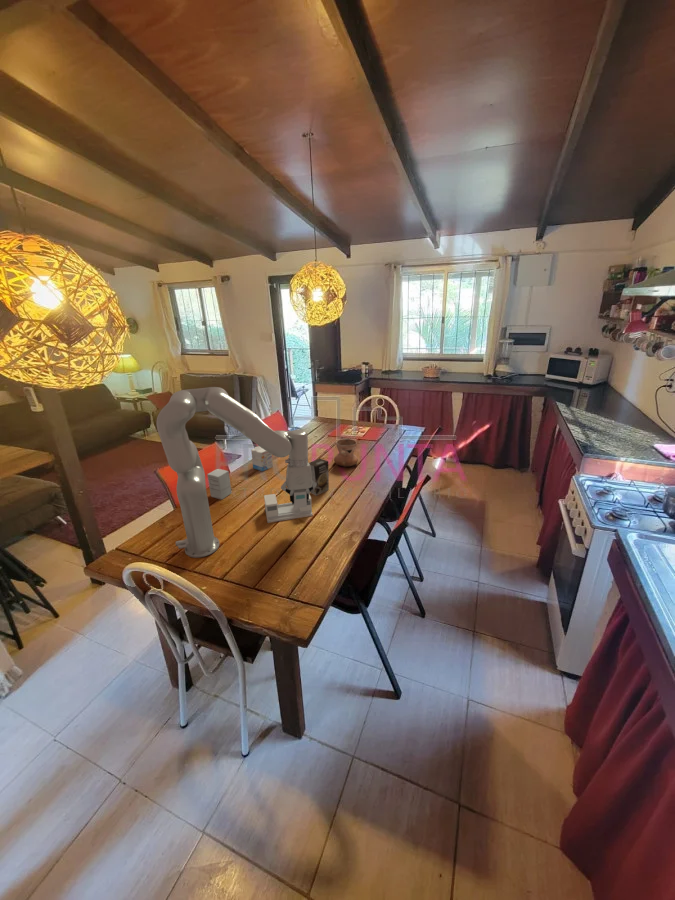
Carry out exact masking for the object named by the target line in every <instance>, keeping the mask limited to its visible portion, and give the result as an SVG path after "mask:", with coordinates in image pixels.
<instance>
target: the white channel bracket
mask: <svg viewBox="0 0 675 900" xmlns="http://www.w3.org/2000/svg"><path fill="white" fill-rule="evenodd" d="M310 494H311V493H309V499H308V502H307V507H302V508H294V505H293V504H292V502H285V503H280V504H278V501H277V496H276V493H270V494H265V495H263V498H264V499H263V501H264V511H265V515H266V521H267V523H268V524H269V523H275V522H281V521H289V520H294V519H295V520H296V519H299V518H305V517H312V516H313V511H312V510H313V508H312V506H313V505H312V496H311V495H310Z"/></svg>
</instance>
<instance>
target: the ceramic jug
mask: <svg viewBox="0 0 675 900" xmlns="http://www.w3.org/2000/svg"><path fill="white" fill-rule="evenodd" d="M335 444H336V449H337V451H338V453H337V454H336V455H334V457H333V461H334V463H335V464H336V465H338V466H340V467H353V466H355V465H357V463H358V462H359V458H358V456H357V455H356V454H354V452H355V450H356V448H357V444H358V442H357V441H356V440H355V439H351V438H341V439H338V440H336V441H335Z"/></svg>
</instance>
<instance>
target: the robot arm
mask: <svg viewBox="0 0 675 900" xmlns="http://www.w3.org/2000/svg"><path fill="white" fill-rule="evenodd" d="M198 412H199V413H200V412H209V413H210V415H212V416H214V417H216V418H218V419H219V420H221V421H222V422H224V423H225V424H227V425H228V426H231V427H232V428H233V429H235V430H237V431H238V432H240V433H241V434H243V436H244V437H246V438H247V439H249V440H250V441H252V442H253V443H255V444H256V445H257V447H258V446H260V447H261V448H263V449H264V450H266V451H267V452H269V453H271V454H272V456H275V457H277V458H286V457H287V456H288V457H287V459H285V460H284V463H285V464H287V466H286V475H285V476H286V478H285V479H286V480H284V482H283V483H282V484H281V486H280V489H281V490H282V491H284V492H285V493H287V494H288V495H289V500H290V501H289V503H291V502H292V504H294V495H293V492H294V490H300V489H306V493H307V502H308V499H309V494H311V493H310V491H311V490H312V489H313V488H314V487H315V486H316V485H317V483H316V482H315V481H314V480H313V479H312V472H311V466H310V464H309V463H310V462H309V442H308V440H309V439H308V438H309V437H308V436H309V435H308V433H307V431H305V430H302V429H293V430H273V429H272V428H271V427H269V426H268V425H267V424H266V423H265V422H264V421H263V420H262V419H261V418H260V417H259V416H258V415H257V414H256V413H255V412H254V411H252V409H249V408H248V407H246V406H245V405H243V404H242V403H240V402H239V401H238V400H236V399H234V398H233V397H232V396H230V395H229V393H228V392H227V390H225V389H224V388H222V387H220V386H219V387H217V386H209V387H203V388H202V387H201V388H199V387H198V388H190V389H180V390H177V391H176V392H174V393H173V394H172V395H171V396H170V399H169V401H168V402H167V404H166V405H164V406H163V407H162V409H161V410H160V411H159V413H158V415H157V418H156V429H157V433H158V435H159V439H160V442H161V445H162V447H163V451H164V455H165V457H166V460H167V464H168V466H169V467H170V468H171V470H172V471H173V472H176V474H177V480H176V481H177V482H176V495H177V499H178V503H179V506H180V512H181V515H182V521H183V525H184V530H185V535H186V538H185V539H182V540H176V541H175V546H176V547H178V549H179V550H181V549H184V553H185V555H187V557H190V558H194V559H195V558H196V559H197V558H204V557H207V556H209V555H213V554H214V553H215V552H216V551H217V550H218V549H219V548H220V540H219V538H218V537H217V536H215V535H214V528H213V522H212V516H211V510H210V504H209V498H208V494H207V485H206V484H207V483H206V474H205V469H204V466H203V463H202V460H201V456H200V455H199V451H198V448H197V445H196V444H195V443H194V442H193V441H192V440H190V438H189V434H188V431H187V429H186V424H187V423H188V422H189V421H190V420H191V419H192V418H193V417H194V416H195V413H198Z"/></svg>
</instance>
